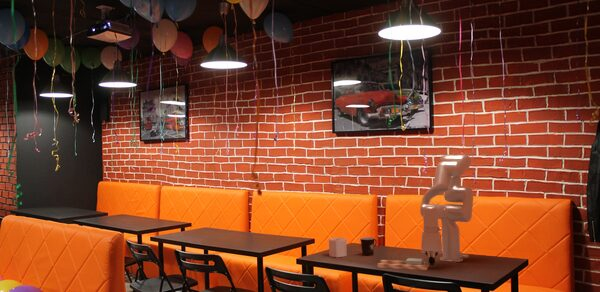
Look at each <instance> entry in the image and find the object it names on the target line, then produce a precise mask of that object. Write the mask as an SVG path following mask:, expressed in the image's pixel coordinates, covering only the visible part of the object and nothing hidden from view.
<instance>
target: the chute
mask: <svg viewBox="0 0 600 292" xmlns="http://www.w3.org/2000/svg"><path fill="white" fill-rule="evenodd" d="M376 264H377V269H378V268H379V269H380V268H381V269H394V270H395V269H396V270H397V269H398V270H414V271H417V270H418V271H428V270H429V267H430V263H429V261H423V265H406V260H393V259H392V260H389V259H388V260H387V259H381V260H380V263H376Z"/></svg>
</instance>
